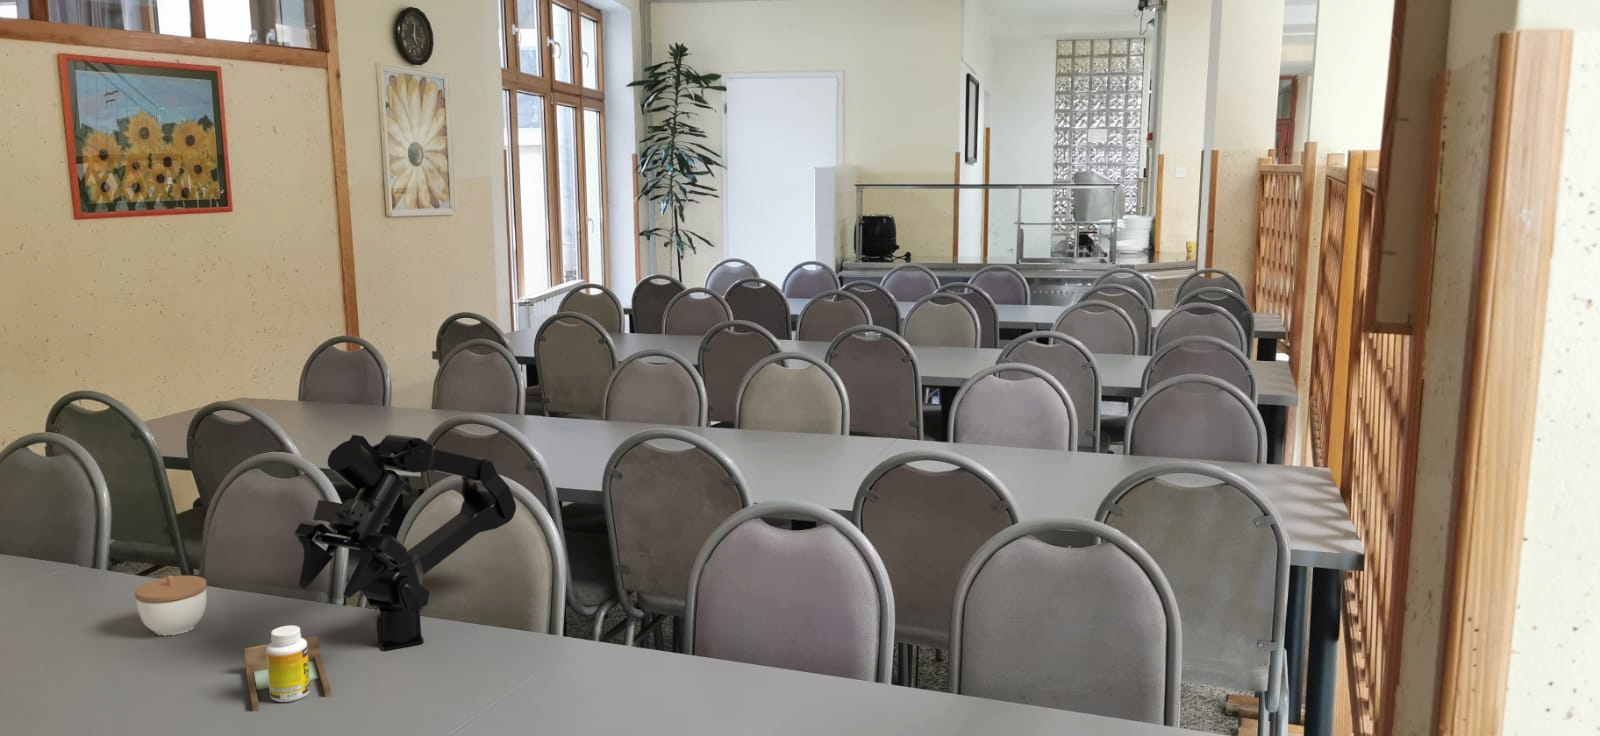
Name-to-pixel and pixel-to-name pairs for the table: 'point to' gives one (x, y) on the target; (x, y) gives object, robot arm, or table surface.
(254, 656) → the bay
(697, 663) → the table surface
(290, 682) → the supplement bottle
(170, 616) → the lidded jar
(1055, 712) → the table surface
